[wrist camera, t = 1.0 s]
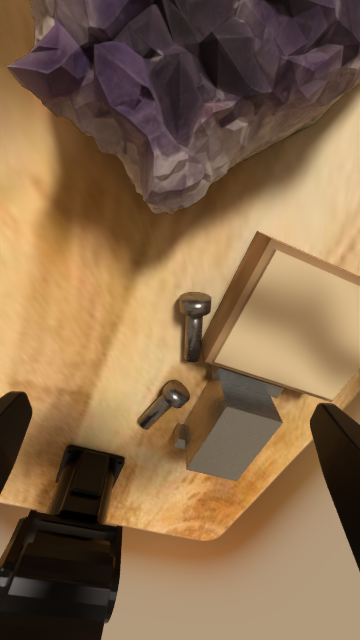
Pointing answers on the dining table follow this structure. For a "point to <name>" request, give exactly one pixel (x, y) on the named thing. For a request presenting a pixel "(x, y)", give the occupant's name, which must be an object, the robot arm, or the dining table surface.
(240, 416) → the block
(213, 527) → the dining table surface
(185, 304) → the bolt
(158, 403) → the bolt
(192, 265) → the dining table surface
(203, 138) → the geode
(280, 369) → the stand
